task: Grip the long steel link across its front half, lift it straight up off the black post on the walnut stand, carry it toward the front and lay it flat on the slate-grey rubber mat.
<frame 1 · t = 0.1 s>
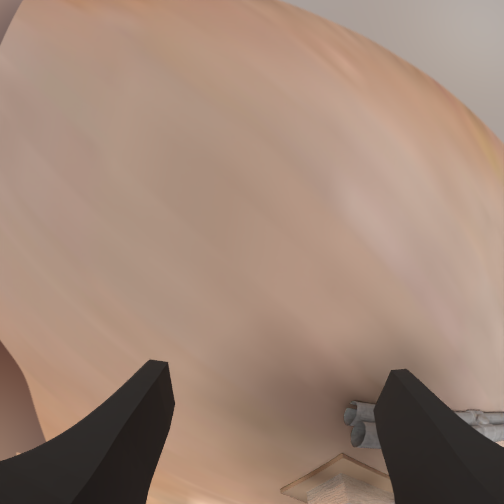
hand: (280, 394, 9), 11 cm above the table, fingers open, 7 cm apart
metal rod assembly: (449, 413, 21), on the table
steel link: (356, 495, 23), point 1 cm above the table, touching post stand
post stand: (355, 491, 23), on the table
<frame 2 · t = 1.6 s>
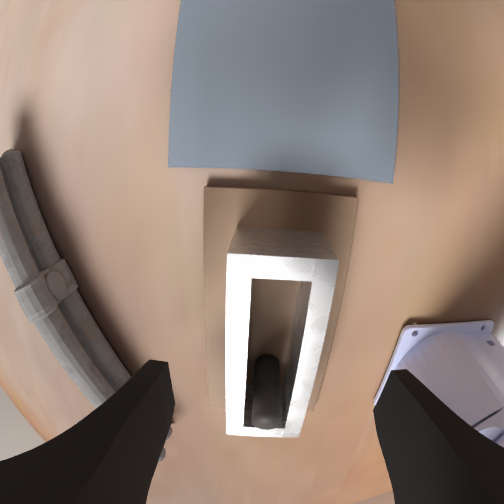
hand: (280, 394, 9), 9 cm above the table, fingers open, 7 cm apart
metal rod assembly: (86, 307, 19), on the table
rubber mat: (289, 61, 13), on the table
steel link: (271, 326, 18), point 1 cm above the table, touching post stand
post stand: (270, 320, 18), on the table
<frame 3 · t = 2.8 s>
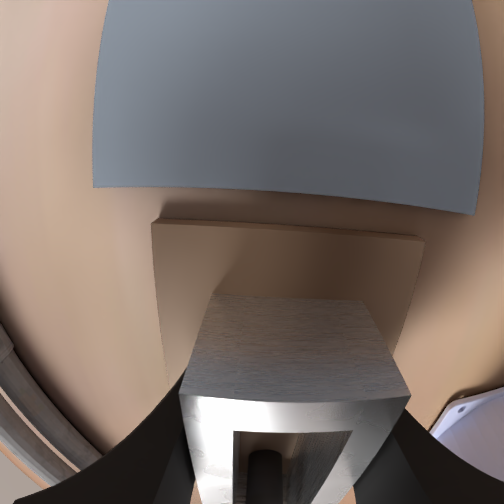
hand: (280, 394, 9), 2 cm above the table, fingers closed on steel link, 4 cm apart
metal rod assembly: (30, 369, 12), on the table
steel link: (271, 423, 11), point 1 cm above the table, touching gripper, post stand
post stand: (271, 412, 11), on the table
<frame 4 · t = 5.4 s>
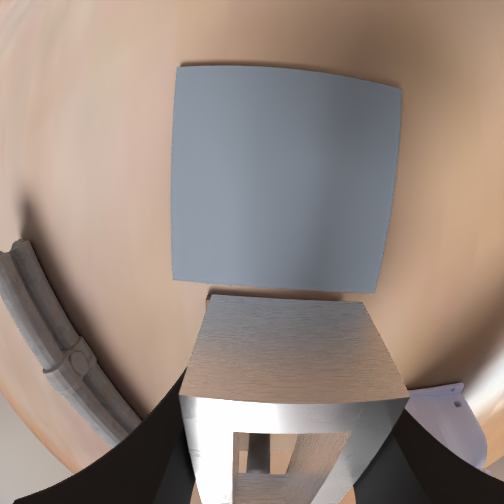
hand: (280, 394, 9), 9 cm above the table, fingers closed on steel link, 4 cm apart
metal rod assembly: (104, 372, 21), on the table
rubber mat: (285, 180, 15), on the table
steel link: (271, 424, 11), point 8 cm above the table, touching gripper
post stand: (263, 392, 20), on the table
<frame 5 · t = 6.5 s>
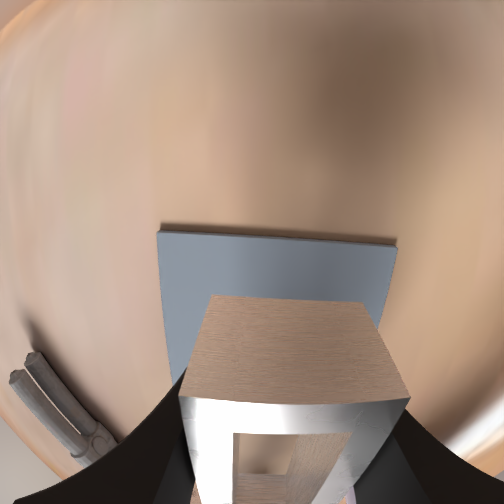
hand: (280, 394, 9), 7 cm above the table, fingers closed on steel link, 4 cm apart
metal rod assembly: (120, 443, 23), on the table
rubber mat: (271, 339, 16), on the table
steel link: (271, 424, 11), point 6 cm above the table, touching gripper
post stand: (255, 464, 21), on the table
when the fingers open (3 cm above the table, at t = 7.6 s): steel link drops 2 cm, resting on rubber mat.
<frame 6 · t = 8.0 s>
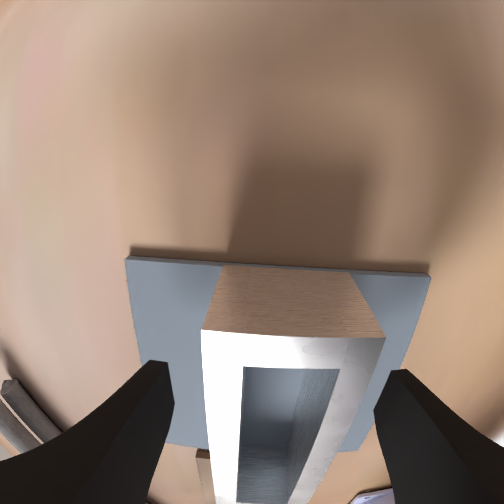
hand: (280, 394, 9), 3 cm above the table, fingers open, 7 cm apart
metal rod assembly: (108, 470, 19), on the table
rubber mat: (271, 384, 13), on the table
steel link: (272, 389, 12), resting on rubber mat
post stand: (253, 497, 18), on the table
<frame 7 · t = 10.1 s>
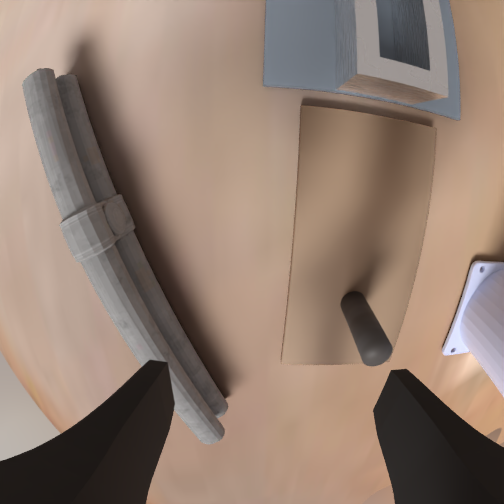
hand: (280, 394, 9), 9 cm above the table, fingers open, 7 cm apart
metal rod assembly: (139, 256, 18), on the table
rubber mat: (369, 9, 12), on the table
steel link: (371, 6, 11), resting on rubber mat
post stand: (358, 253, 17), on the table
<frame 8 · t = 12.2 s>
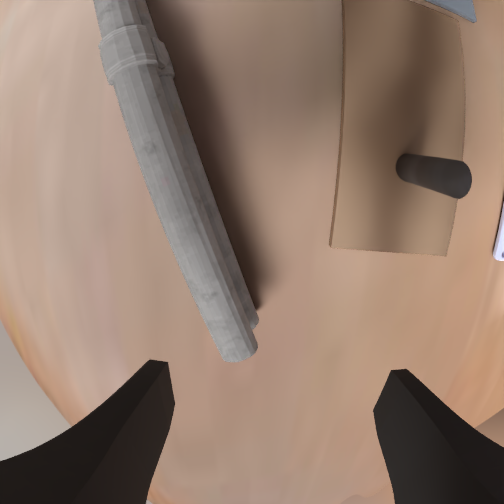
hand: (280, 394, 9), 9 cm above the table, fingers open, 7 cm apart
metal rod assembly: (171, 115, 15), on the table
post stand: (407, 116, 14), on the table
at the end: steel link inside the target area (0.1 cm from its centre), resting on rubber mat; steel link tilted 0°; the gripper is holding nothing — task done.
